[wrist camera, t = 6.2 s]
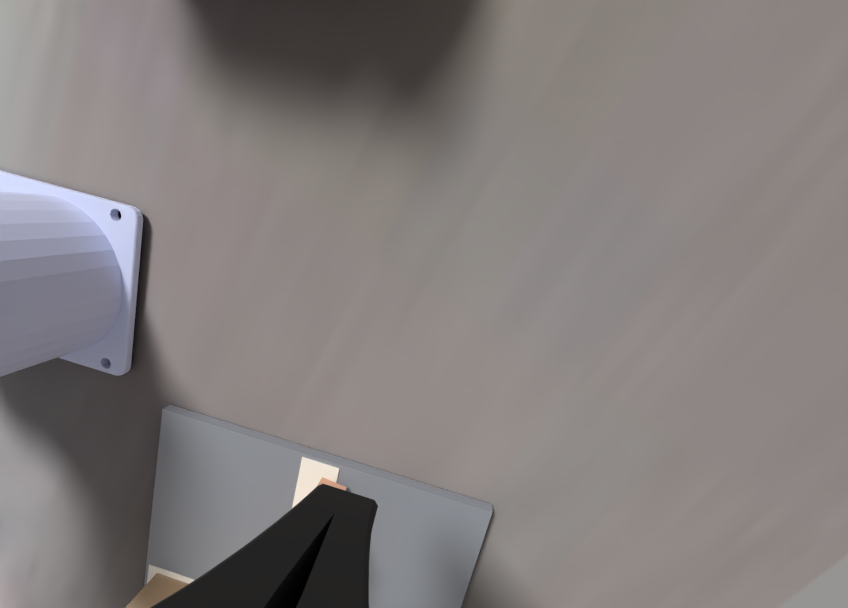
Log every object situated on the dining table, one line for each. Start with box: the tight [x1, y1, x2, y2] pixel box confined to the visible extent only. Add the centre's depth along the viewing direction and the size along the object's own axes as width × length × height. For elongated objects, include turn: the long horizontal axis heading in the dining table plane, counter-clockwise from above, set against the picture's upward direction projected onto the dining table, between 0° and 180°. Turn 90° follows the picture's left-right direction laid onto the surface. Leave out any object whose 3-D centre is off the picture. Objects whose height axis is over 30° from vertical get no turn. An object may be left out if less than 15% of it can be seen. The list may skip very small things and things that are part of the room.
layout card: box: [144, 404, 493, 608], centre depth 21 cm, size 16×14×1 cm
